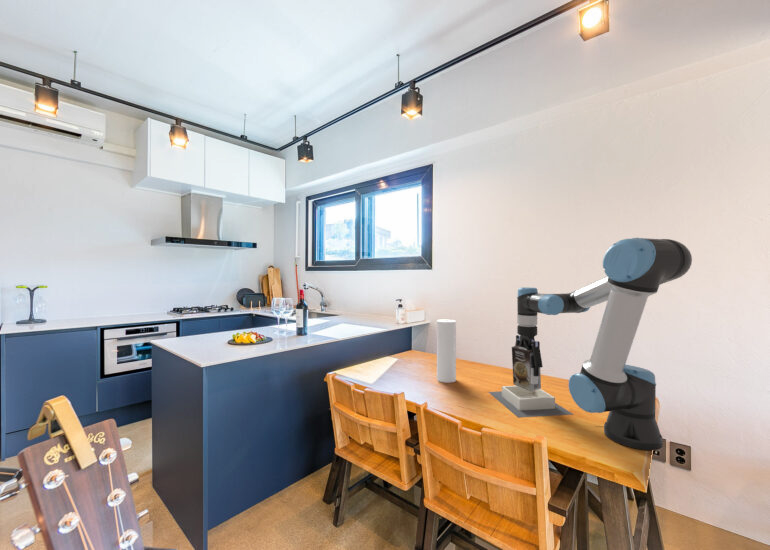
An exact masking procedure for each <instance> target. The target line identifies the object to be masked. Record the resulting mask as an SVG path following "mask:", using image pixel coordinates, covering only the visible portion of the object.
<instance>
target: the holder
mask: <svg viewBox="0 0 770 550" xmlns="http://www.w3.org/2000/svg"><path fill="white" fill-rule="evenodd" d="M501 391H502V397H503V398H505V399H506V400H507V401H508V402H510V403H511V404H512V405H513V406H515V407H516V408H517V409H518V410H538V409H555V403H556V397H554V396H553V395H551V394H550V393H548V392H546V390H543V389H542V388H541V389H537V390H534V391H528V390H526V389H523V388H521V387H518V386H516V385H504V386H503V385H502V386H501Z"/></svg>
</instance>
